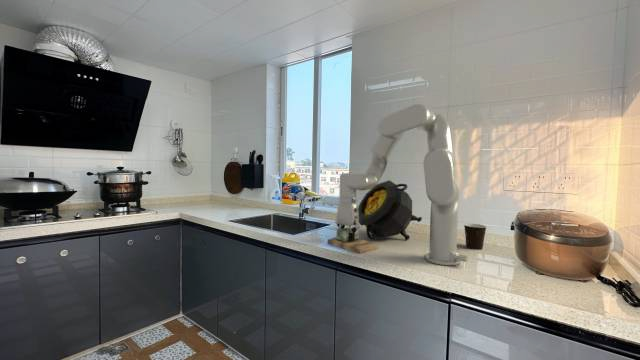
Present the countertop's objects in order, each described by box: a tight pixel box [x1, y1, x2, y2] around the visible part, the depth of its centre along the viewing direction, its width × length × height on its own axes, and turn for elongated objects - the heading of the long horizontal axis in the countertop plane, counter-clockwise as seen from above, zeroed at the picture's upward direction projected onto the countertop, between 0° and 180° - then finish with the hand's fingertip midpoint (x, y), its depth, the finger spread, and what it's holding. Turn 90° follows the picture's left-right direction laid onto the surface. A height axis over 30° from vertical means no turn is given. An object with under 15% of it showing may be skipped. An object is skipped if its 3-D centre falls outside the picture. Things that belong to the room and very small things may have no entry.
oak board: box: [327, 236, 380, 255], centre depth 127 cm, size 20×12×2 cm, turn 41°
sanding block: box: [336, 226, 360, 242], centre depth 130 cm, size 5×9×5 cm, turn 127°
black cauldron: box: [358, 179, 423, 241], centre depth 142 cm, size 28×28×24 cm
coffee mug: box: [464, 223, 487, 251], centre depth 125 cm, size 12×9×10 cm
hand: (346, 239), depth 130 cm, fingers closed on sanding block, 5 cm apart
